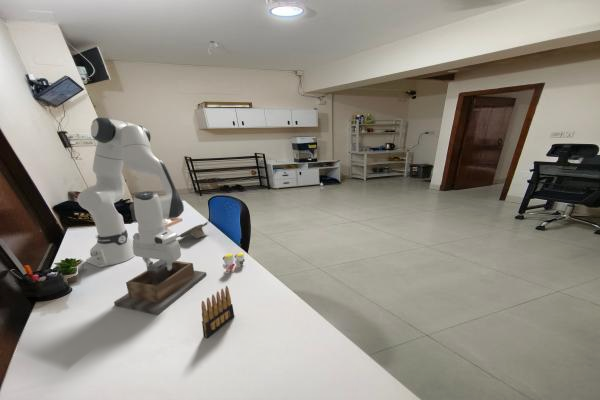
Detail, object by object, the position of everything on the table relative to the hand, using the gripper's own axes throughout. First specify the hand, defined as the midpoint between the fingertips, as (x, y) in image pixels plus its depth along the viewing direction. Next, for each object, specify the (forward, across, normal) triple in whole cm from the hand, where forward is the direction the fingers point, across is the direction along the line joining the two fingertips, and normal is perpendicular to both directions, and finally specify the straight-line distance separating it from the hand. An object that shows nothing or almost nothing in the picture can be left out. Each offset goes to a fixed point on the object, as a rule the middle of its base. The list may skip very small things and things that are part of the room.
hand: (159, 268), depth 99 cm
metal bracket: (+8, 0, 0) cm, 8 cm away
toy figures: (+10, +19, +21) cm, 30 cm away
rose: (+10, -64, +64) cm, 91 cm away
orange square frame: (+10, -66, +66) cm, 94 cm away
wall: (+10, -26, +48) cm, 56 cm away
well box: (+10, 0, 0) cm, 10 cm away
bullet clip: (+10, +34, -11) cm, 37 cm away
